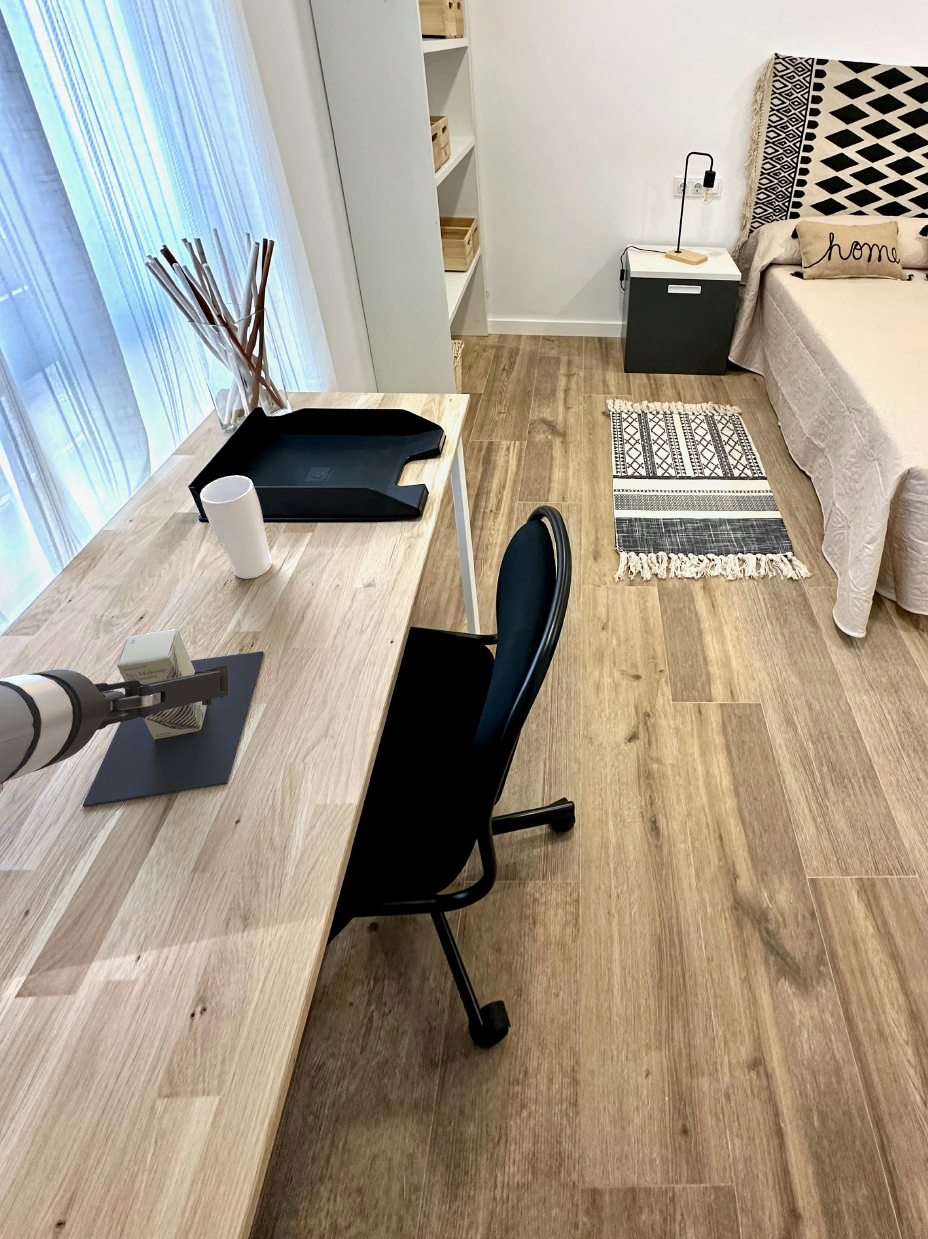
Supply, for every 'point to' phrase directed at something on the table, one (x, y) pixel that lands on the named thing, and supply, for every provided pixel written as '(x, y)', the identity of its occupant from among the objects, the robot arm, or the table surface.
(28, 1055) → the table surface
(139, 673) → the box
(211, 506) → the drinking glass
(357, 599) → the table surface
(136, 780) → the dark blue mat
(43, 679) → the robot arm
